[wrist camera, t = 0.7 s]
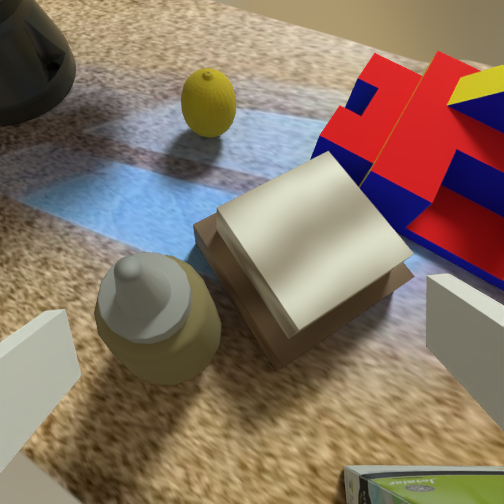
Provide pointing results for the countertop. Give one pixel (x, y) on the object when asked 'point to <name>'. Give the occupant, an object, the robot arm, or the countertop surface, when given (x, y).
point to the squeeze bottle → (158, 318)
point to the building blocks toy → (429, 156)
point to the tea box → (424, 484)
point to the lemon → (208, 102)
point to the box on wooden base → (302, 256)
